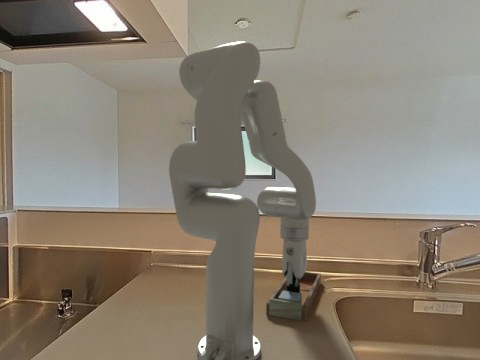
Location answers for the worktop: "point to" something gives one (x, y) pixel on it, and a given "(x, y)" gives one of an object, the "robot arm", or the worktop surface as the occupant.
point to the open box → (293, 308)
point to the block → (291, 296)
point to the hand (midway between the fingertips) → (293, 299)
